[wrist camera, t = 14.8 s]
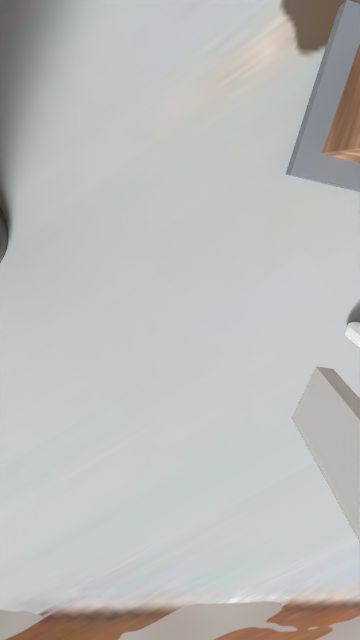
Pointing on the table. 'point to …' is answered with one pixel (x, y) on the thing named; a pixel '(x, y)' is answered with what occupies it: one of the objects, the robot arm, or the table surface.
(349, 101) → the open wooden box
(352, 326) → the cable organizer
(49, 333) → the table surface
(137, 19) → the table surface
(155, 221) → the table surface
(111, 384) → the table surface
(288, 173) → the slate board
